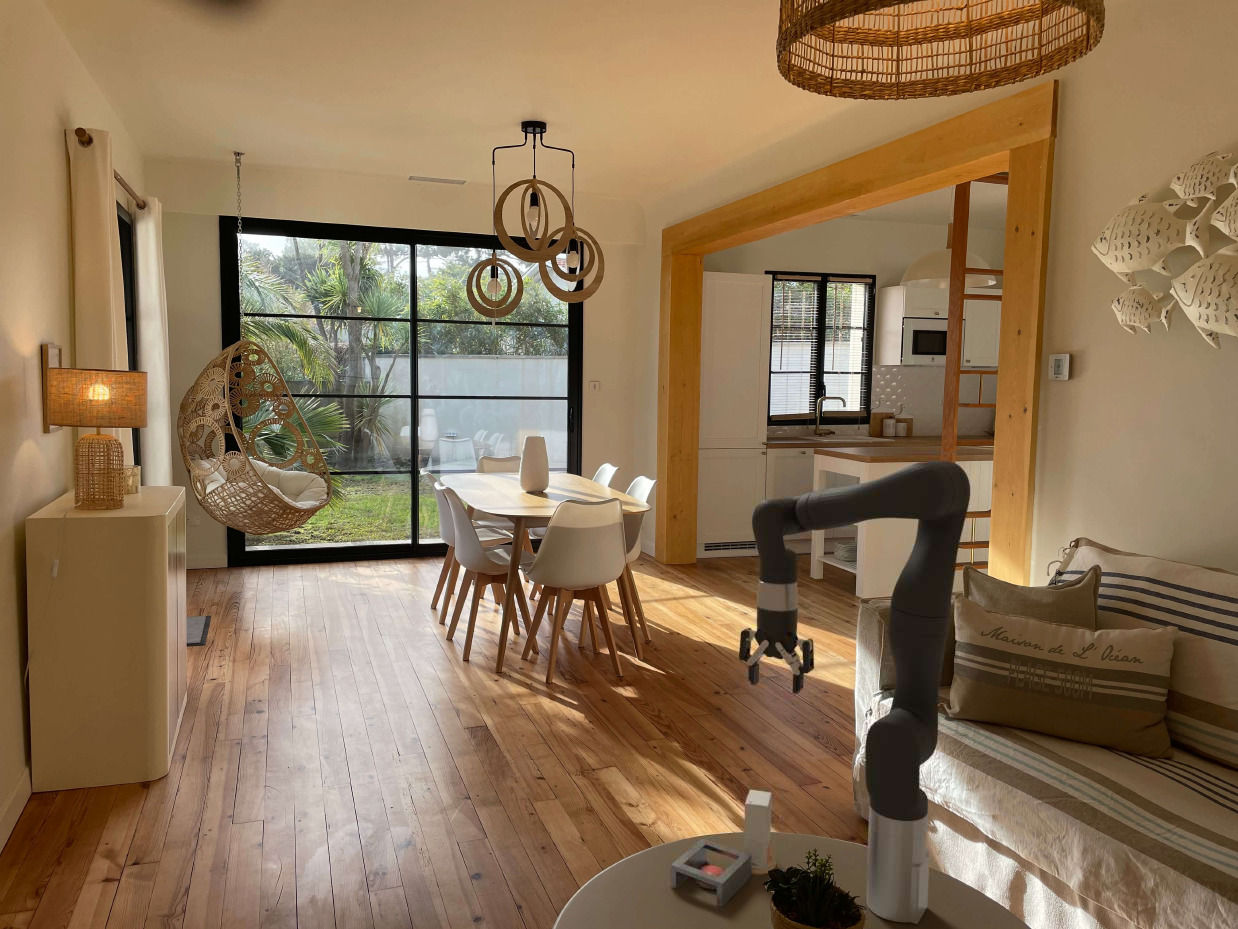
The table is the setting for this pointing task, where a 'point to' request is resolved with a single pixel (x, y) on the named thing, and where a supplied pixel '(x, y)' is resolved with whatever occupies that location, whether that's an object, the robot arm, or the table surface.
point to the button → (712, 870)
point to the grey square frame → (725, 882)
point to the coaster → (770, 865)
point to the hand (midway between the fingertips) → (775, 688)
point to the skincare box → (758, 828)
